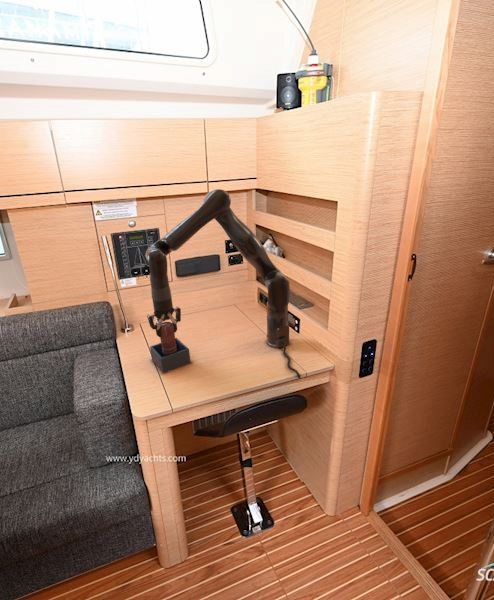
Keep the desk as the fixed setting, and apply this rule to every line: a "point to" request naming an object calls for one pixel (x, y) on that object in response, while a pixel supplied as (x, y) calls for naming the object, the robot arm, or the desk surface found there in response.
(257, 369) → the desk surface
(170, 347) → the can
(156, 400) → the desk surface
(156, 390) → the desk surface
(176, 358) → the bin
